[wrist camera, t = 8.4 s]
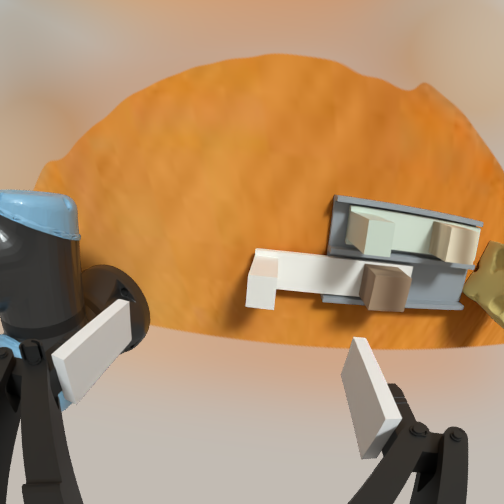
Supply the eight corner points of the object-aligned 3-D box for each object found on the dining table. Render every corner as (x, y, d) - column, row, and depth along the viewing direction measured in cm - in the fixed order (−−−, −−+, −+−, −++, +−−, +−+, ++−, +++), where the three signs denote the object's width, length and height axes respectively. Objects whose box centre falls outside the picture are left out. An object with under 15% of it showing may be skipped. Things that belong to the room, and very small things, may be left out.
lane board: (320, 294, 40) (322, 301, 38) (334, 194, 37) (338, 195, 34) (455, 303, 38) (462, 310, 36) (474, 219, 35) (483, 222, 32)
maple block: (428, 252, 35) (445, 261, 30) (433, 221, 34) (451, 227, 29) (454, 255, 35) (472, 265, 30) (459, 226, 33) (478, 232, 29)
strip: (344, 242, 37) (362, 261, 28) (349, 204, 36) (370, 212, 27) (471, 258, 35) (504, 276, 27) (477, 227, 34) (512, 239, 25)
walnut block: (358, 294, 37) (368, 310, 33) (364, 263, 36) (375, 275, 31) (390, 297, 37) (403, 311, 32) (397, 267, 36) (412, 278, 31)
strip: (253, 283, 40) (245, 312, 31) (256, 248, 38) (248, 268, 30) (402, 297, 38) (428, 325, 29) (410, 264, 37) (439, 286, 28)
